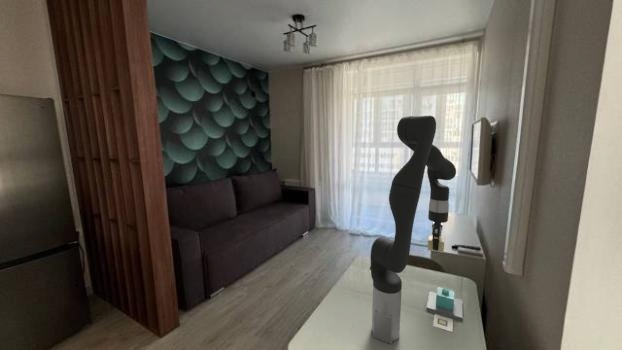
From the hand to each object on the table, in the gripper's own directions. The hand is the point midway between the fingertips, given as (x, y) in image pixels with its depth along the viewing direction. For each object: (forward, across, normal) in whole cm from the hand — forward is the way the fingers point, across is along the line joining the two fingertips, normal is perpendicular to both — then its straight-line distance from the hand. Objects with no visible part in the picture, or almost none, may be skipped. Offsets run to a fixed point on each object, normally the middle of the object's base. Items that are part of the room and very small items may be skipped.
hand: (435, 246), depth 109 cm
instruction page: (+19, -22, -5) cm, 30 cm away
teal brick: (+18, -11, -5) cm, 22 cm away
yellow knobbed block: (+1, 0, 0) cm, 1 cm away
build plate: (+19, -11, -5) cm, 23 cm away
